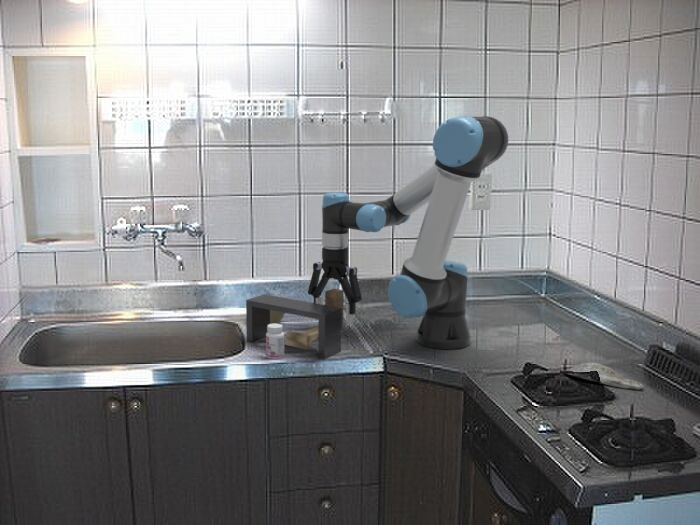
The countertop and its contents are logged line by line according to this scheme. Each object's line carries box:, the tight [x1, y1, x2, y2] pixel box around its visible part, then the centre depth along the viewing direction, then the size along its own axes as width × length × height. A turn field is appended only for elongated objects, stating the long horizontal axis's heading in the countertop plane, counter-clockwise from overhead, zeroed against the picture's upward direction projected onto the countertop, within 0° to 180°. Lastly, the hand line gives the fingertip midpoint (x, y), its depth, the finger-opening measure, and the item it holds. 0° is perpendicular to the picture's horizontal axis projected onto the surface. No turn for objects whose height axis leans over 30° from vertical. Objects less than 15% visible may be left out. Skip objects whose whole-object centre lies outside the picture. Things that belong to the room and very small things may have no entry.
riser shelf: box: [245, 293, 342, 360], centre depth 206 cm, size 26×8×12 cm, turn 58°
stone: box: [568, 362, 645, 391], centre depth 186 cm, size 20×4×10 cm
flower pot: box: [270, 295, 286, 324], centre depth 229 cm, size 10×10×7 cm
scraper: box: [285, 288, 345, 350], centre depth 215 cm, size 7×21×12 cm, turn 148°
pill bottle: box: [265, 323, 285, 360], centre depth 198 cm, size 5×5×8 cm
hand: (334, 321), depth 222 cm, fingers open, 10 cm apart
